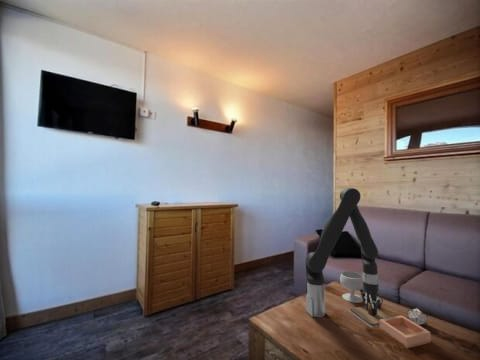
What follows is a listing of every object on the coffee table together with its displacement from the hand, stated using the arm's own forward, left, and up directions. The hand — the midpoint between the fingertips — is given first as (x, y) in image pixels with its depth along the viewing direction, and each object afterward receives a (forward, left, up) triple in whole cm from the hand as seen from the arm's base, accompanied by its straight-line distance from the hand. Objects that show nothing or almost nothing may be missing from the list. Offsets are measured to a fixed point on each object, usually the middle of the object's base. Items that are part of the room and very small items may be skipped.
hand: (371, 312), depth 123 cm
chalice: (+4, +19, -2) cm, 20 cm away
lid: (0, 0, -2) cm, 2 cm away
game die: (+16, -12, -2) cm, 21 cm away
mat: (0, 0, -2) cm, 2 cm away
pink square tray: (+2, -17, -2) cm, 17 cm away
